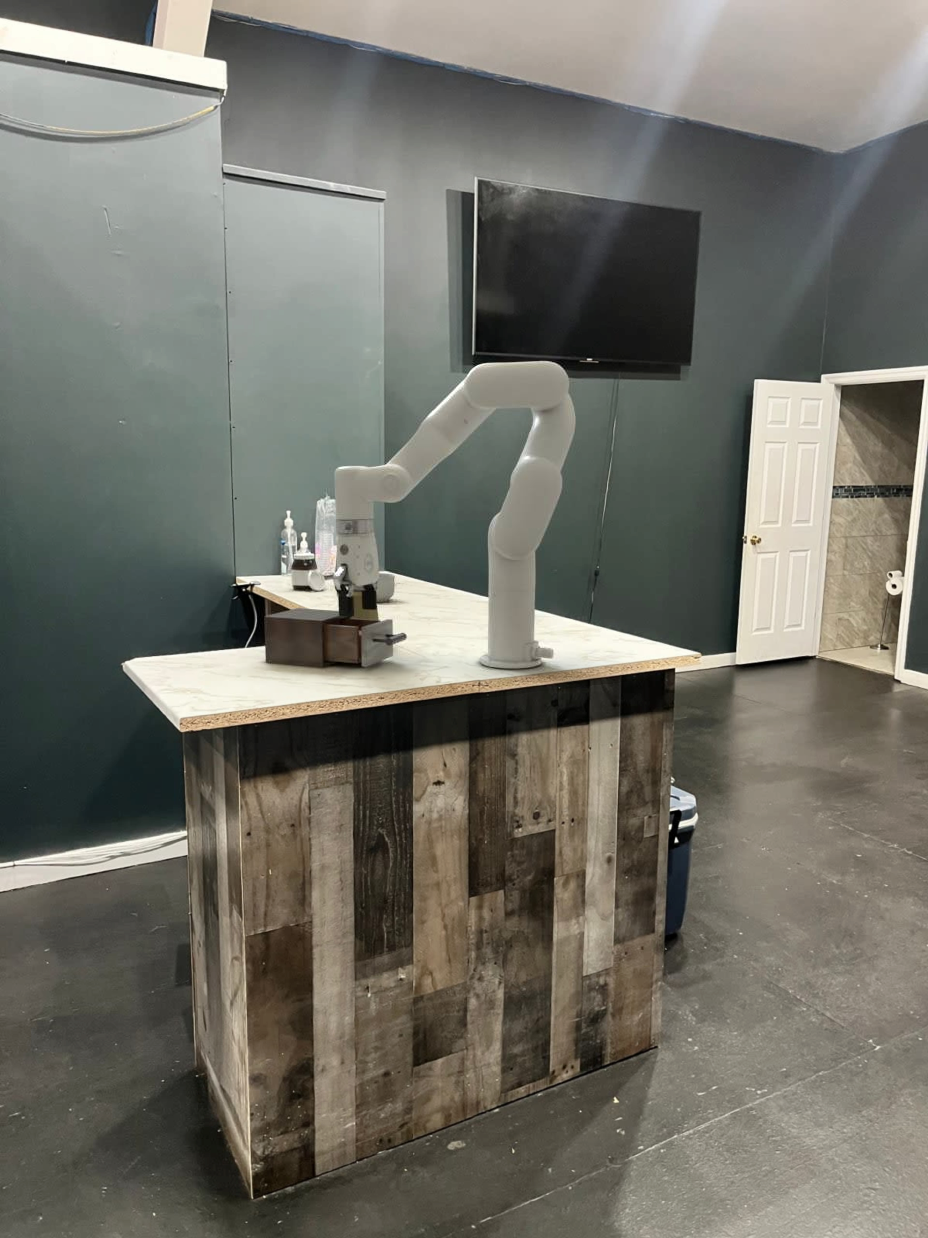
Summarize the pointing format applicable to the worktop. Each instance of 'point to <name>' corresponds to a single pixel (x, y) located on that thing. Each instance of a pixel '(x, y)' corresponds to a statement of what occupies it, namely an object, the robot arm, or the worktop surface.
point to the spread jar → (306, 573)
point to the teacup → (385, 587)
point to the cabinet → (298, 636)
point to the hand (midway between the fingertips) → (358, 612)
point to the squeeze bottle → (358, 609)
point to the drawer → (345, 640)
